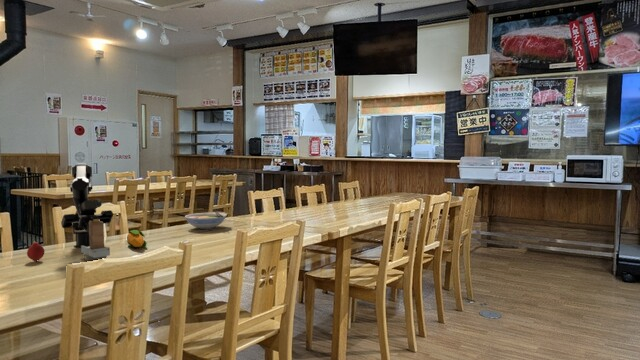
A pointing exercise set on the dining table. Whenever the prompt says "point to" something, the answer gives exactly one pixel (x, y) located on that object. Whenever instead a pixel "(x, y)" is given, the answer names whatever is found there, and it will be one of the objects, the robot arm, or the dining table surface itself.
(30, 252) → the red oval piece
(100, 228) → the brown rectangular block
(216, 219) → the ramen bowl
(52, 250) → the dining table surface
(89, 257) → the grey piece
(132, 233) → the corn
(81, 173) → the robot arm
